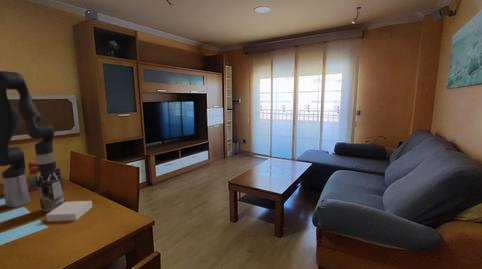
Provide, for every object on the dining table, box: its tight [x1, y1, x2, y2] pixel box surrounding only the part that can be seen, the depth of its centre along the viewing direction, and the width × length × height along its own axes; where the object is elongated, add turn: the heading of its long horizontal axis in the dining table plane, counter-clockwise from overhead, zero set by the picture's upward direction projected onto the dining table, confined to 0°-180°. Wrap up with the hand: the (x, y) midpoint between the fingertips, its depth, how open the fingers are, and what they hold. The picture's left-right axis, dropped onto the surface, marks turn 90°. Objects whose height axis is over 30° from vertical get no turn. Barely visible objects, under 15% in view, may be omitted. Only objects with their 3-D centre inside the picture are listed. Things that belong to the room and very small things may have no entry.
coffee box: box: [37, 179, 66, 212], centre depth 124 cm, size 9×6×16 cm
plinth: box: [45, 200, 93, 222], centre depth 120 cm, size 14×14×4 cm
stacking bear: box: [27, 161, 41, 192], centre depth 153 cm, size 11×10×18 cm
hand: (51, 190), depth 123 cm, fingers closed on coffee box, 7 cm apart
